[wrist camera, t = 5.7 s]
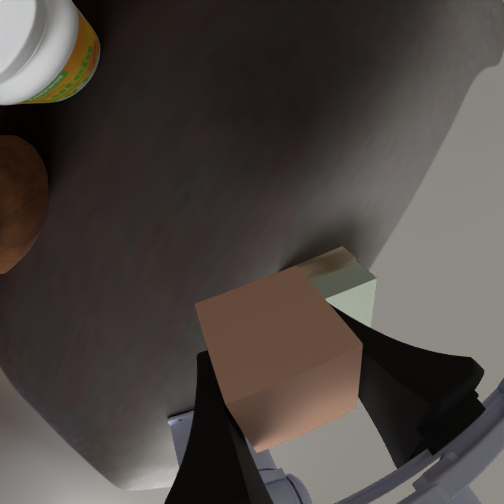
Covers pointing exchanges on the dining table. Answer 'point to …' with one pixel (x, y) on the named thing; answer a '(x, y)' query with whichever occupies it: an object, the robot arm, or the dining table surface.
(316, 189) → the dining table surface
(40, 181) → the wooden figurine
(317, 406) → the terracotta block
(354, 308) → the tower top block
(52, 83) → the supplement bottle
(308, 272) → the tower base block
